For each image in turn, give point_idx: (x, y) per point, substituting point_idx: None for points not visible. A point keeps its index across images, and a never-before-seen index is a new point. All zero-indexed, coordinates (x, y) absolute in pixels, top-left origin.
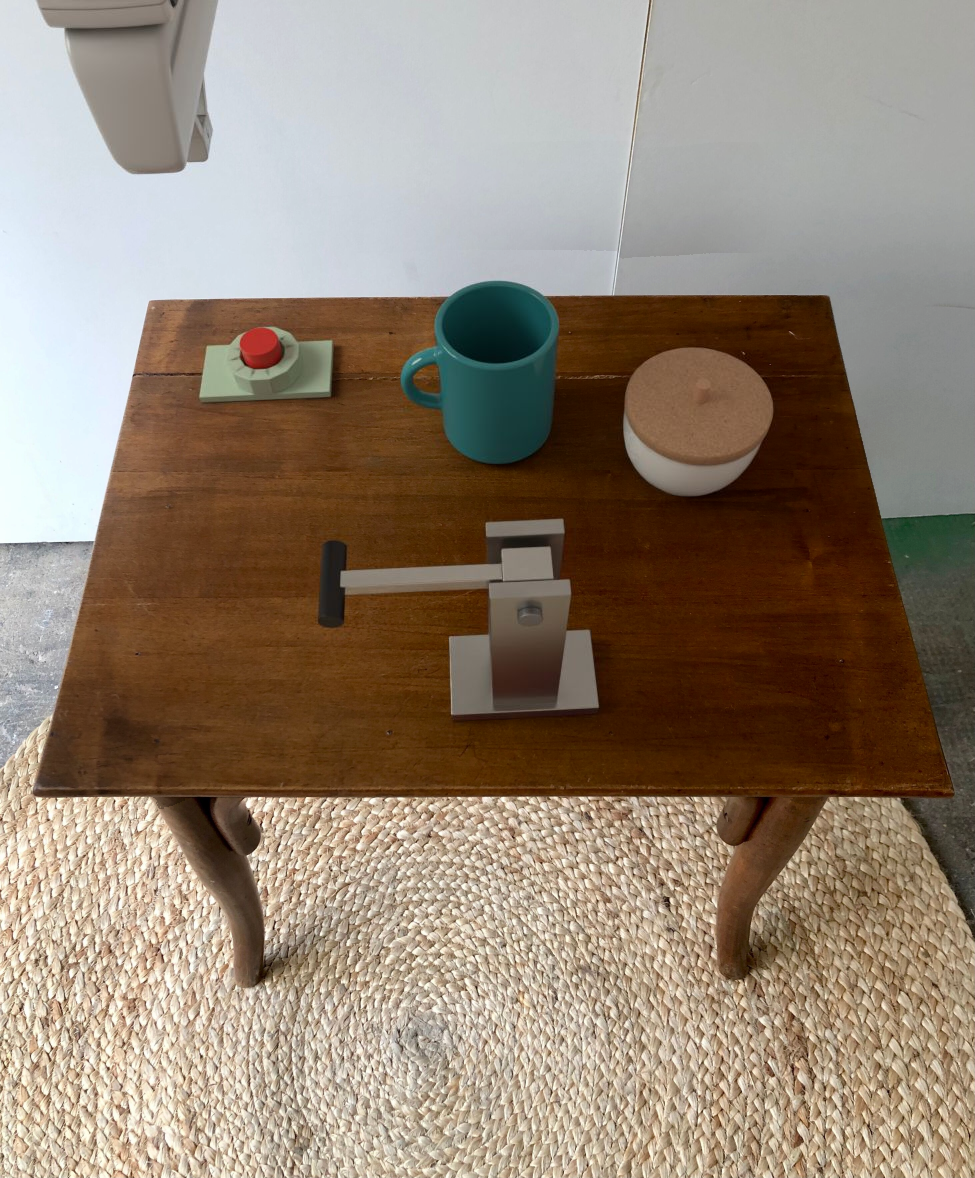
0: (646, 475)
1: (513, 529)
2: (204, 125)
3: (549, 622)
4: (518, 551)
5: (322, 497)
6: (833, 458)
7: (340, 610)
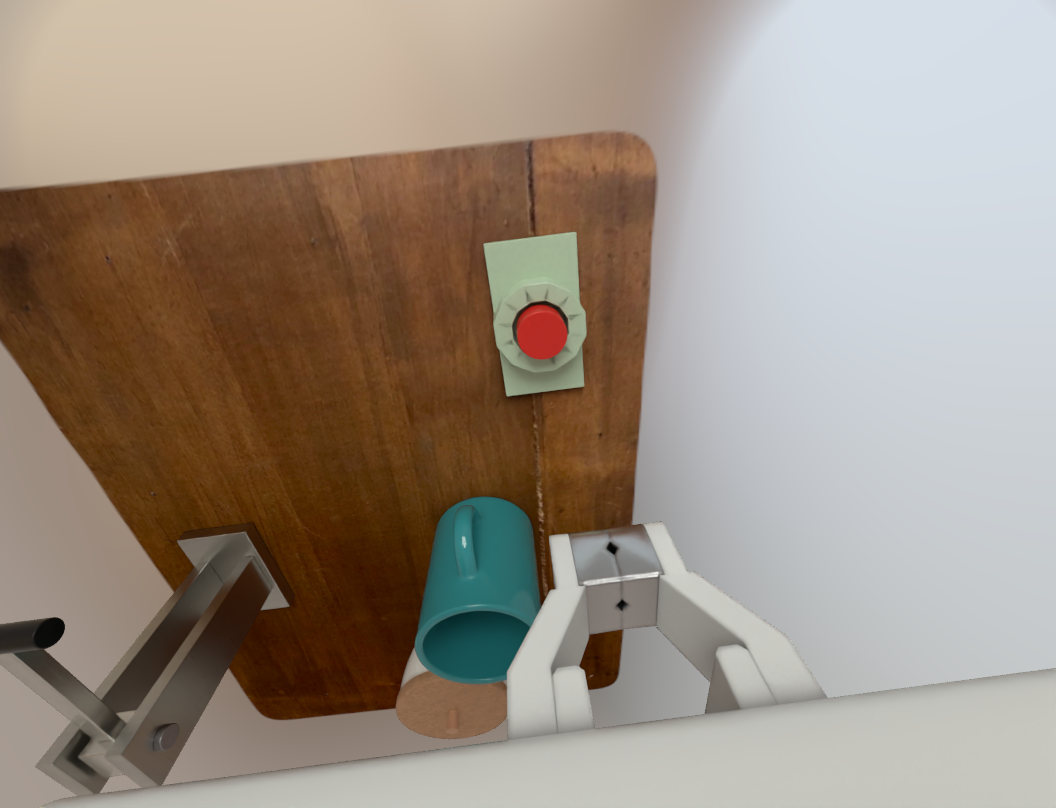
0: None
1: (124, 769)
2: (612, 629)
3: None
4: None
5: (372, 406)
6: None
7: None
